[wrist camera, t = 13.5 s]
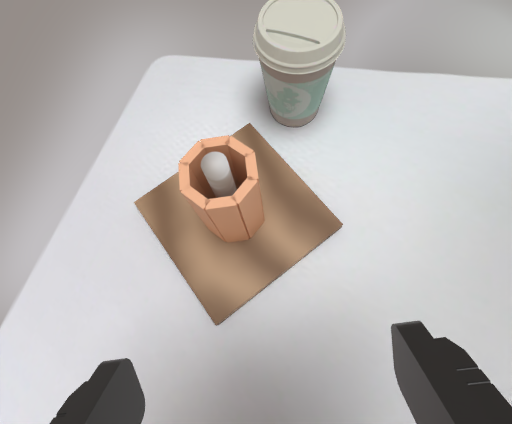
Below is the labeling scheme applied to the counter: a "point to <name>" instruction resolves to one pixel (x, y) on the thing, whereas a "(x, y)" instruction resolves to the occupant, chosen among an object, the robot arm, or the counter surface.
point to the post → (247, 251)
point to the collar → (230, 207)
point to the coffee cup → (298, 55)
